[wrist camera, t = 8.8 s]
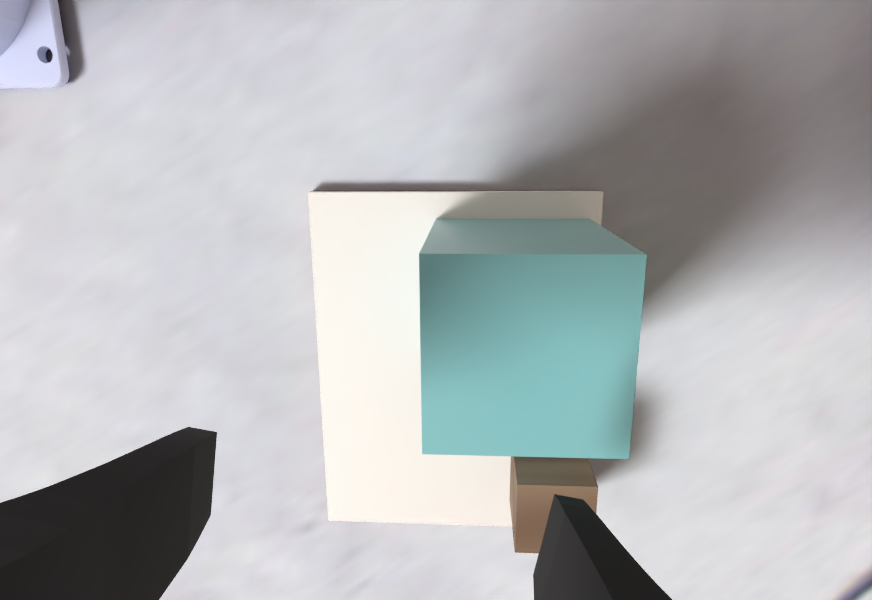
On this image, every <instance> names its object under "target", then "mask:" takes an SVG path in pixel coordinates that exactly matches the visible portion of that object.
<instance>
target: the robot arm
mask: <svg viewBox="0 0 872 600" xmlns="http://www.w3.org/2000/svg"><path fill="white" fill-rule="evenodd" d="M48 49H50V50H51V52H52V54H53V58H52V60H51V62H48V61H47V59H46V52H47V50H48ZM68 79H69V68H68V62H67V55H66V49H65V43H64V37H63V30H62V24H61V18H60V11H59V5H58V0H0V89H8V88H59V87H63V86H64V85H65V84H66V83H67V82H68ZM216 436H217V432H213V431H207V430H202V429H196V428H191V427H187V428H185V429H182V430H179V431H177V432H174V433H172V434H170V435H168V436H165V437H163V438H161V439H159V440H156V441H154V442H152V443H150V444H148V445H145V446H143V447H141V448H139V449H137V450H134V451H132V452H130V453H128V454H125V455H123V456H121V457H119V458H117V459H114V460H112V461H110V462H108V463H105V464H103V465H101V466H98V467H96V468H93V469H91V470H88V471H86V472H84V473H81V474H79V475H76V476H74V477H71V478H69V479H66V480H64V481H61V482H59V483H56V484H54V485H51V486H49V487H46V488H43V489H41V490H38V491H35V492H32V493H29V494H26V495H23V496H21V497H17V498H14V499H11V500H8V501H5V502H2V503H0V600H159V599H160V597H161V596H162V595H163V593H164V592H165V590H166V589H167V587H168V586H169V585H170V583H171V582H172V580H173V579H174V577H175V576H176V575H177V573H178V572H179V570H180V569H181V567H182V566H183V564H184V563H185V562H186V560H187V559H188V557H189V555H190V553H191V551H192V550H193V548H194V546H195V544H196V542H197V541H198V539H199V537H200V535H201V533H202V531H203V529H204V527H205V525H206V523H207V521H208V519H209V517H210V515H211V503H212V490H213V476H214V463H215V450H216ZM533 578H534V600H672V599H671V598H670V597H669V596H668V595H667V594H666V593H665V592H664V591H663V590H662V589H661V588H660V587H659V586H658V585H657V584H656V583H655V582H654V581H653V579H652V578H651V577H650V576H649V575H648V574H647V573H646V572H645V571H644V570H643V569H642V567H641V566H640V565H639V564H638V563H637V562H636V561H635V560H634V558H633V557H632V556H631V555H630V554H629V553H628V551H627V550H626V549H625V548H624V547H623V546H622V544H621V543H620V542H619V541H618V540H617V539H616V537H615V536H614V535H613V534H612V533H611V531H610V530H609V529H608V528H607V527H606V525H605V524H604V523H603V522H602V521H601V519H600V518H599V517H598V516H597V515H596V513H595V512H594V511H593V510H592V509H591V507H590V506H589V505H588V504H587V503H586V502H585V501H584V500H583V499H578V498H573V497H568V496H562V495H557V494H554V497H553V501H552V505H551V509H550V513H549V516H548V520H547V524H546V528H545V532H544V536H543V540H542V544H541V547H540V551H539V555H538V559H537V563H536V567H535V571H534V574H533Z"/></svg>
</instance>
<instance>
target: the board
mask: <svg viewBox="0 0 872 600" xmlns="http://www.w3.org/2000/svg"><path fill="white" fill-rule="evenodd" d="M603 194H604V192H602V191H311V192H308V202H309V218H310V234H311V250H312V266H313V282H314V298H315V314H316V330H317V346H318V362H319V378H320V394H321V410H322V426H323V442H324V458H325V474H326V490H327V506H328V521H357V522H388V523H418V524H448V525H478V526H508V527H512V519H511V510H510V500H509V499H510V467H511V456H475V455H434V454H422V415H421V351H420V288H419V253H420V251H421V249H422V247H423V244H424V242H425V240H426V238H427V236H428V234H429V232H430V230H431V228H432V226H433V224H434V222H435V220H436V219H591V220H593V221H594V222H596V223H598V224H599V225H601V224H602V209H603Z"/></svg>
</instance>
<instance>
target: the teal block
mask: <svg viewBox="0 0 872 600" xmlns="http://www.w3.org/2000/svg"><path fill="white" fill-rule="evenodd" d="M646 261H647V254H645V253H644V252H642V251H641V250H639V249H637V248H636V247H634V246H633V245H631V244H630V243H628V242H626V241H625V240H623V239H622V238H620V237H618V236H617V235H615V234H614V233H612V232H610V231H609V230H607V229H606V228H604V227H602V226H601V225H599V224H598V223H596V222H594V221H593V220H591V219H436V220H435V222H434V224H433V226H432V228H431V230H430V232H429V234H428V236H427V238H426V240H425V242H424V244H423V247H422V249H421V251H420V253H419V288H420V351H421V415H422V454H434V455H475V456H516V457H558V458H599V459H629V454H630V442H631V431H632V420H633V408H634V397H635V386H636V374H637V363H638V352H639V340H640V329H641V318H642V306H643V295H644V284H645V272H646Z"/></svg>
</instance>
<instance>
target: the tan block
mask: <svg viewBox="0 0 872 600" xmlns="http://www.w3.org/2000/svg"><path fill="white" fill-rule="evenodd" d="M554 494H557V495H562V496H568V497H573V498H578V499H583V500H584V501H585V502H586V503H587V504H588V505H589V506H590V507H591V509H592V510H593V511H594V512H595V513H596V507H597V494H598V485H597V483H596V480H595V477H594V475H593V472H592V469H591V467H590V464H589V461H588V458H558V457H516V456H511V467H510V499H509V500H510V510H511V519H512V529H513V538H514V547H515V552H519V553H539V551H540V547H541V544H542V540H543V536H544V532H545V528H546V524H547V520H548V516H549V513H550V509H551V505H552V501H553V497H554Z"/></svg>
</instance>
